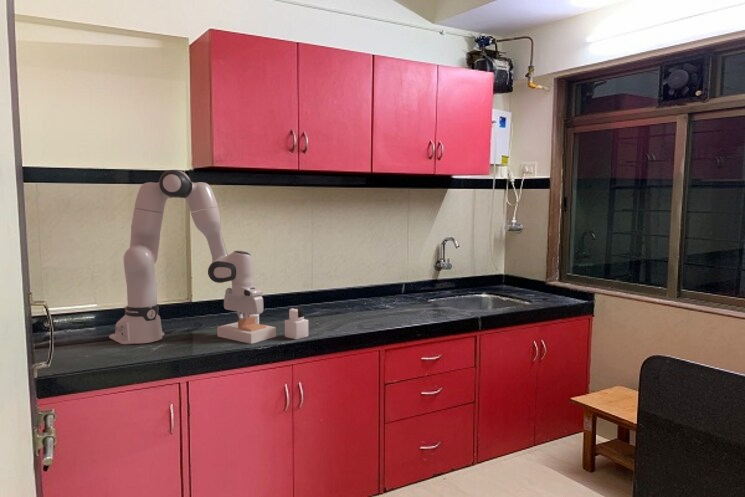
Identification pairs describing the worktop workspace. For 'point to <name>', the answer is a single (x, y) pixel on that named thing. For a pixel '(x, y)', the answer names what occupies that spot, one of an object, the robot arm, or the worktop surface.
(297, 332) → the white stepped block
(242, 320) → the orange l-shaped bracket
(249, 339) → the white tray
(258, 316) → the salt shaker
